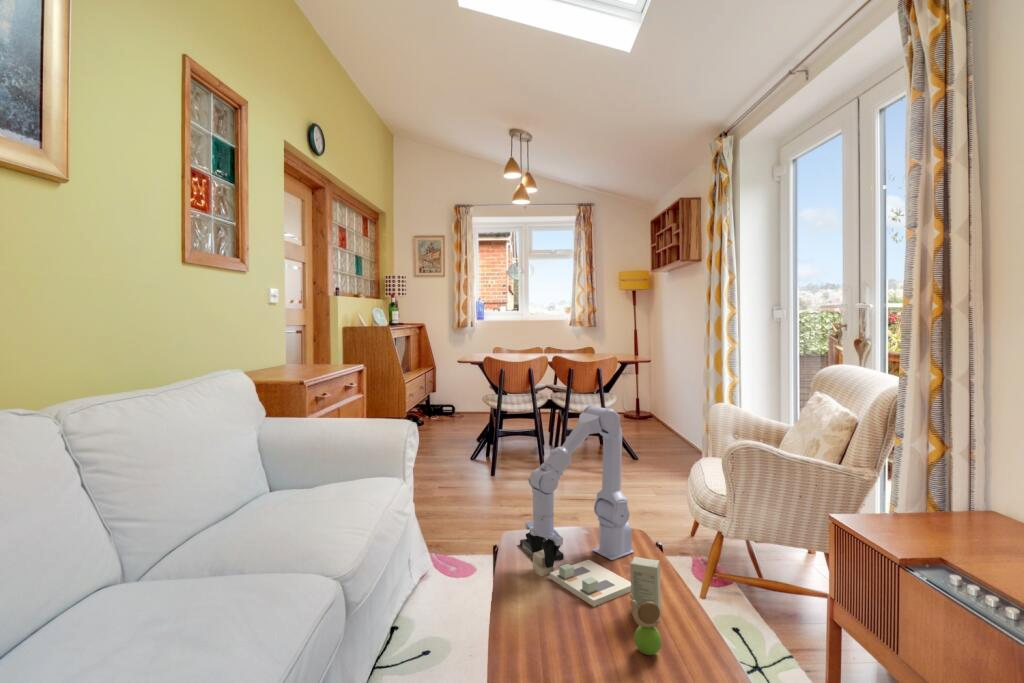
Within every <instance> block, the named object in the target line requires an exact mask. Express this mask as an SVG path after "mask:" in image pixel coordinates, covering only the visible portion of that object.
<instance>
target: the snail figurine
mask: <svg viewBox="0 0 1024 683" xmlns="http://www.w3.org/2000/svg"><path fill="white" fill-rule="evenodd" d="M629 597H630V602H629V605H630V607H631V615H632V614H633V615H632V616H633V620H634V621H635V623H636V624H637V625H638V627H636V630H635V632H634V634H633V640H634V641H633V642H634V643H635V646H636V648H637V649H638V650H639V651H640V653H641V654H644V655H647V656H653V655H656V654H657V653H658V652H659V651H660V649H661V648H662V643H663V641H662V635H661V633H660V631H659V630H658V629H657V628H656V627H657V626H658V625H659V624H660V621H661V620H660V618H661V615H660V609H659V607H658V605H657V604H655V603H654V602H650V601H648V602H644V603H643V604H641V605H640V607H639V609H638V611H637V607H636V606H637V602H636V601H635V600H632V599H631V598H633V596H632V594H631V593H630V594H629ZM659 617H660V618H659ZM658 619H659V620H658Z"/></svg>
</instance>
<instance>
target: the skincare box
mask: <svg viewBox="0 0 1024 683" xmlns="http://www.w3.org/2000/svg"><path fill="white" fill-rule="evenodd" d="M629 564H630V565H629V566H630V582H631V592H630V594H632V596H633V598H631V599H630V600H635V601H636V602H637V606H636V607H637V611H638V609H639V607H640V605H641V604H643V603H644V602H648V601H650V602H654V603H655V604H657V605H658V607H659V609H660V617H659V619H658V620H660V618H661V615H662V590H661V589H662V588H661V587H662V586H661V581H662V580H661V561H660V559H659V560H658V559H653V558H648V557H647V558H646V557H639V556H633V558H632V560H631V561H630V563H629ZM631 615H632V616H633V614H632V613H631Z"/></svg>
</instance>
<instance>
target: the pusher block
mask: <svg viewBox="0 0 1024 683" xmlns="http://www.w3.org/2000/svg"><path fill="white" fill-rule="evenodd" d="M532 571H533V572H534V573H535V574H537V575H538V576H540V577H542V578H543V577H545V576H547V575H550V572H553V571H554V566H553V567H550V568H547V567H546V564H545V554H544V550H541V551H538V552H534V553H533V558H532Z"/></svg>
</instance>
